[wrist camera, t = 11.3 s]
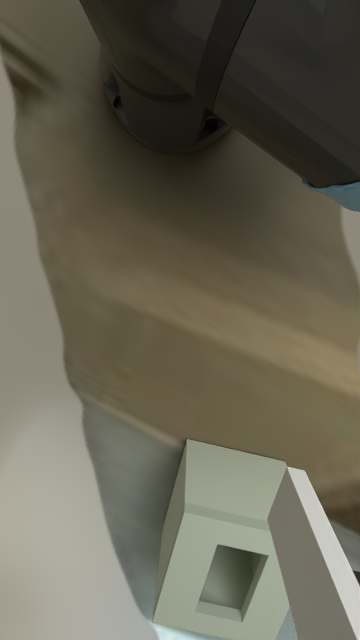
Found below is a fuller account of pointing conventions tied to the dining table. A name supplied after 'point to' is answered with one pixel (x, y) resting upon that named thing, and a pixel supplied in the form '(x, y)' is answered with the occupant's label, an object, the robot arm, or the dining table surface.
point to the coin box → (221, 547)
